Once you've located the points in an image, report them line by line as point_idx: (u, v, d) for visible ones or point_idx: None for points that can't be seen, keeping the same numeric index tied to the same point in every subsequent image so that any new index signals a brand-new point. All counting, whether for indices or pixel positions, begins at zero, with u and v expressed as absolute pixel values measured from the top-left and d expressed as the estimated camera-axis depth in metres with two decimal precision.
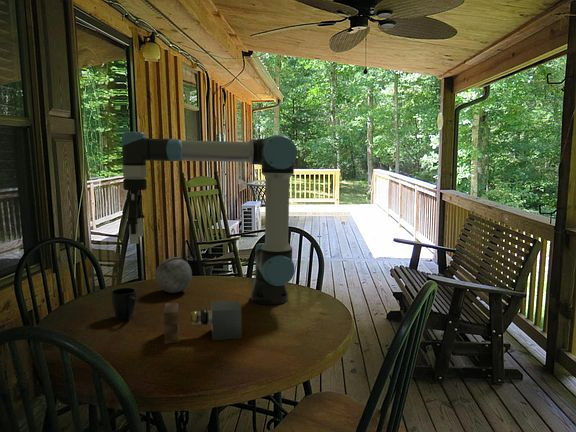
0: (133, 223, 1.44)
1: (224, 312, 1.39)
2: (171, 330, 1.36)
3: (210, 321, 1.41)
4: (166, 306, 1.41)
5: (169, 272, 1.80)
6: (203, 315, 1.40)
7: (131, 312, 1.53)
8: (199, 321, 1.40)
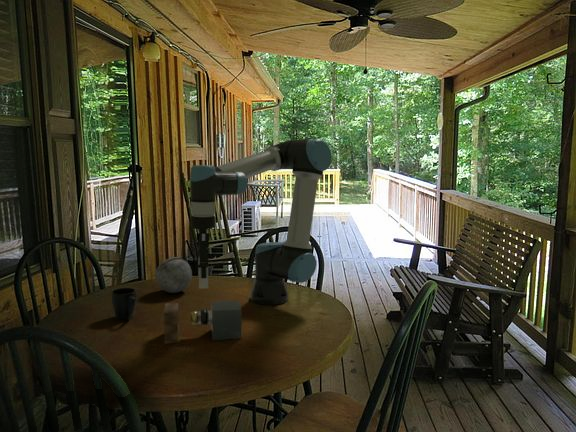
0: (204, 267, 1.31)
1: (224, 312, 1.39)
2: (171, 330, 1.36)
3: (210, 321, 1.41)
4: (166, 306, 1.41)
5: (169, 272, 1.80)
6: (203, 315, 1.40)
7: (131, 312, 1.53)
8: (199, 321, 1.40)
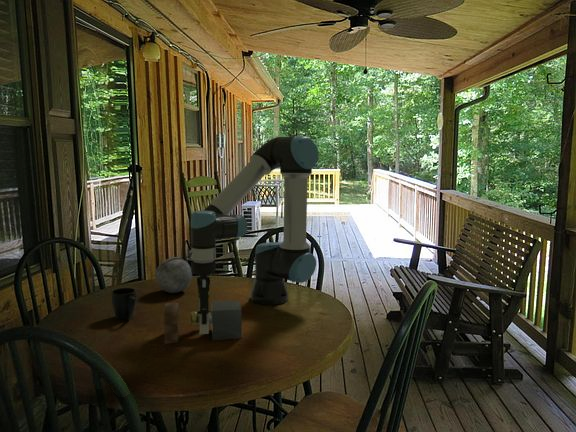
0: (205, 313, 1.33)
1: (224, 312, 1.39)
2: (171, 330, 1.36)
3: (210, 321, 1.41)
4: (166, 306, 1.41)
5: (169, 272, 1.80)
6: None
7: (131, 312, 1.53)
8: (199, 321, 1.40)
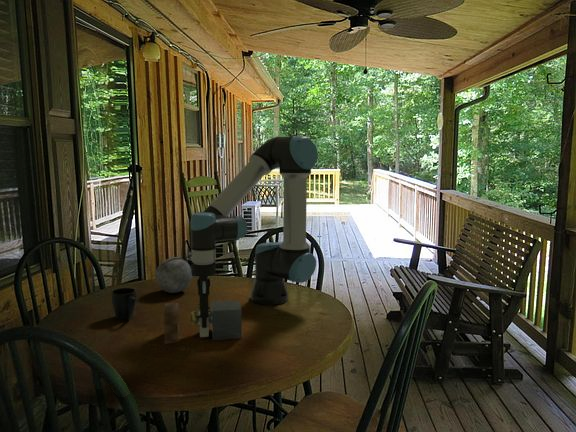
0: (205, 317, 1.37)
1: (224, 312, 1.39)
2: (171, 330, 1.36)
3: (210, 321, 1.41)
4: (166, 306, 1.41)
5: (169, 272, 1.80)
6: None
7: (131, 312, 1.53)
8: (199, 321, 1.40)
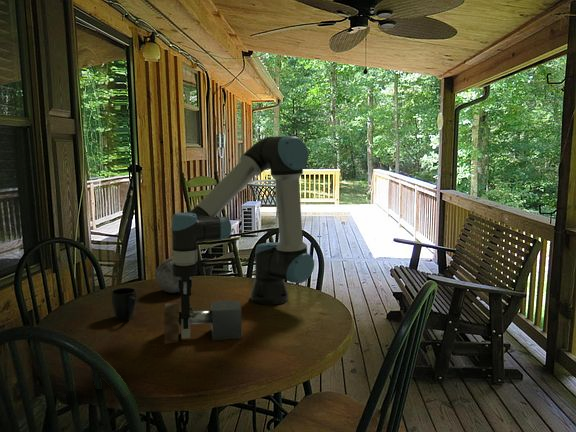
0: (186, 318, 1.36)
1: (224, 312, 1.39)
2: (171, 330, 1.36)
3: (192, 322, 1.40)
4: (166, 306, 1.41)
5: (169, 272, 1.80)
6: None
7: (131, 312, 1.53)
8: None
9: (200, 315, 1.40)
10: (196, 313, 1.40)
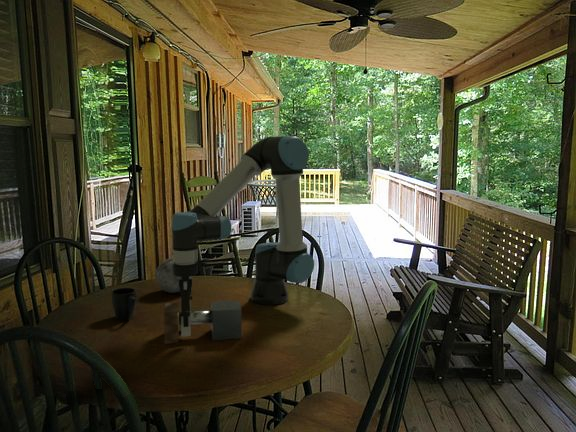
0: (186, 316, 1.32)
1: (224, 312, 1.39)
2: (171, 330, 1.36)
3: (192, 322, 1.40)
4: (166, 306, 1.41)
5: (169, 272, 1.80)
6: None
7: (131, 312, 1.53)
8: None
9: (201, 315, 1.40)
10: (196, 313, 1.40)
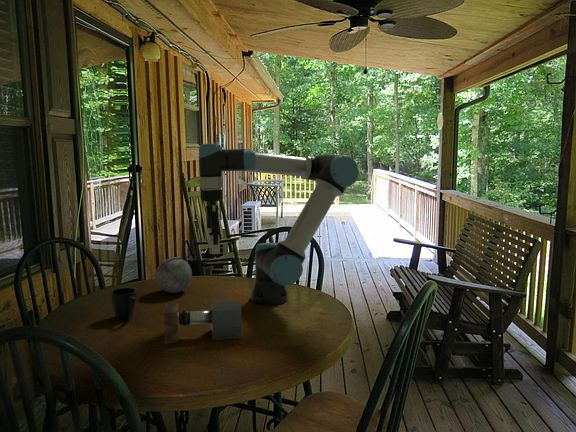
0: (216, 234, 1.46)
1: (224, 312, 1.39)
2: (171, 330, 1.36)
3: (192, 322, 1.40)
4: (166, 306, 1.41)
5: (169, 272, 1.80)
6: (185, 316, 1.39)
7: (131, 312, 1.53)
8: (181, 322, 1.39)
9: (201, 315, 1.40)
10: (196, 313, 1.40)
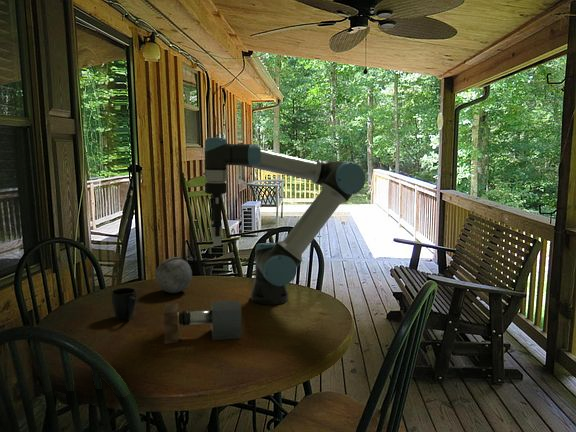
0: (218, 226, 1.49)
1: (224, 312, 1.39)
2: (171, 330, 1.36)
3: (192, 322, 1.40)
4: (166, 306, 1.41)
5: (169, 272, 1.80)
6: (185, 316, 1.39)
7: (131, 312, 1.53)
8: (181, 322, 1.39)
9: (201, 315, 1.40)
10: (196, 313, 1.40)
